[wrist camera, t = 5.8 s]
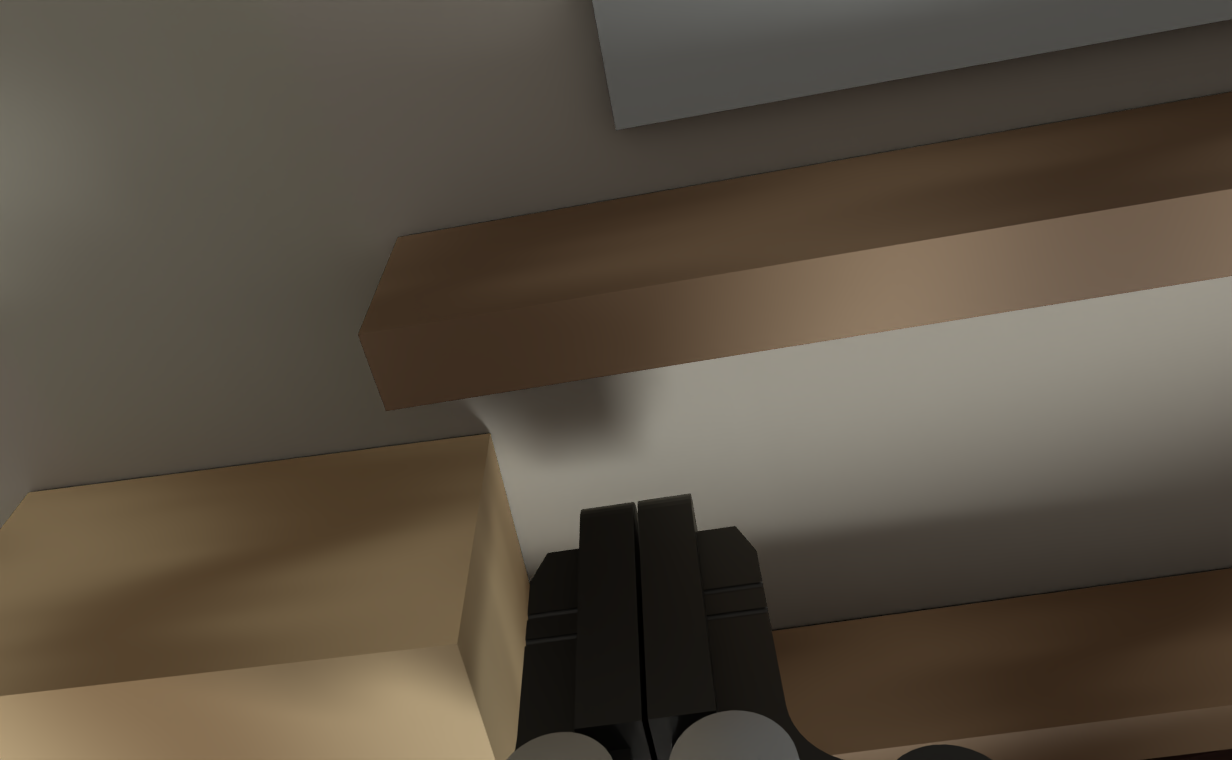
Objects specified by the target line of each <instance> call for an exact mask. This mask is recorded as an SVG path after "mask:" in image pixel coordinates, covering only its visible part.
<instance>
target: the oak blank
mask: <svg viewBox="0 0 1232 760" xmlns="http://www.w3.org/2000/svg"><path fill="white" fill-rule="evenodd" d="M529 589H530V584H529V580H528V576H527V572H526V568H525V565H524V561H523V557H522V553H521V549H520V545H519V542H518V538H517V534H516V530H515V526H514V522H513V519H512V515H511V511H510V507H509V503H508V499H507V496H506V492H505V488H504V484H503V480H502V476H501V473H500V469H499V465H498V461H497V457H496V454H495V450H494V446H493V442H492V438H491V434H490V433H489V434H482V435H474V436H466V437H458V438H450V439H443V440H435V441H427V442H419V443H411V444H404V445H396V446H388V447H380V448H372V449H365V450H357V451H349V452H341V453H333V454H326V455H318V456H310V457H302V458H294V459H287V460H279V461H271V462H263V463H255V464H248V465H240V466H232V467H224V468H216V469H209V470H201V471H193V472H185V473H177V474H170V475H162V476H154V477H146V478H138V479H131V480H123V481H115V482H107V483H99V484H92V485H84V486H76V487H68V488H60V489H53V490H45V491H37V492H29V493H28V494H27V495H26V496H25V498H24V499H23V500H22V502H21V503H20V504H19V506H18V507H17V508H16V509H15V511H14V512H13V513H12V515H11V516H10V517H9V519H8V520H7V521H6V523H5V524H4V525H3V526H2V528H1V529H0V760H507V758H508V757H509V756H510V755H511V754H512V753H513V752H514V751H515V747H516V741H517V730H518V718H519V707H520V695H521V683H522V672H523V660H524V648H525V646H526V641H525V636H526V625H527V620H528V615H527V613H528V601H529Z"/></svg>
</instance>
